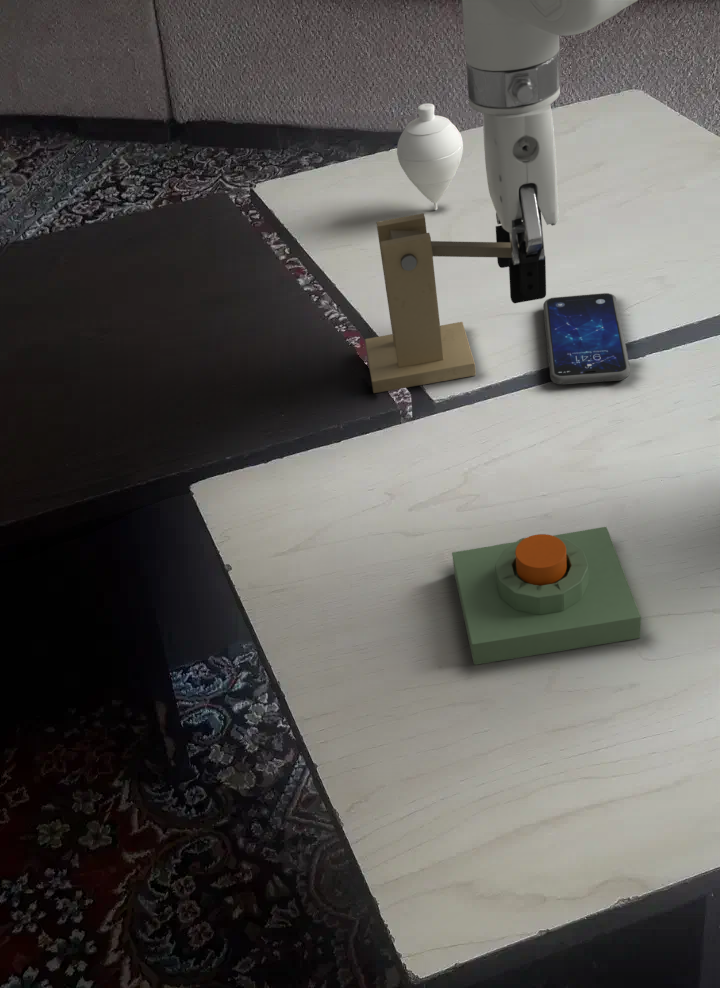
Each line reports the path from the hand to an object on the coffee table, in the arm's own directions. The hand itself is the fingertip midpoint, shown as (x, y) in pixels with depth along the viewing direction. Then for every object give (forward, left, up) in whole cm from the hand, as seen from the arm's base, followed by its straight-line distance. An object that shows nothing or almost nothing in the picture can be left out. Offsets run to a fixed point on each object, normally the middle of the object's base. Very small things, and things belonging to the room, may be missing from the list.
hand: (521, 279), depth 100 cm
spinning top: (+4, -33, -7) cm, 34 cm away
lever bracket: (+10, 0, -7) cm, 12 cm away
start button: (+5, +36, -3) cm, 37 cm away
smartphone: (-6, +2, -7) cm, 9 cm away
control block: (+5, +36, -7) cm, 37 cm away
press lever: (+6, 0, +3) cm, 6 cm away
